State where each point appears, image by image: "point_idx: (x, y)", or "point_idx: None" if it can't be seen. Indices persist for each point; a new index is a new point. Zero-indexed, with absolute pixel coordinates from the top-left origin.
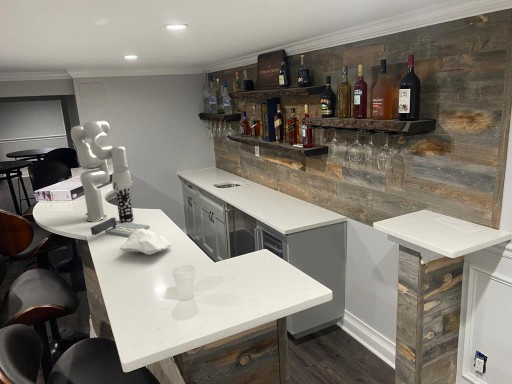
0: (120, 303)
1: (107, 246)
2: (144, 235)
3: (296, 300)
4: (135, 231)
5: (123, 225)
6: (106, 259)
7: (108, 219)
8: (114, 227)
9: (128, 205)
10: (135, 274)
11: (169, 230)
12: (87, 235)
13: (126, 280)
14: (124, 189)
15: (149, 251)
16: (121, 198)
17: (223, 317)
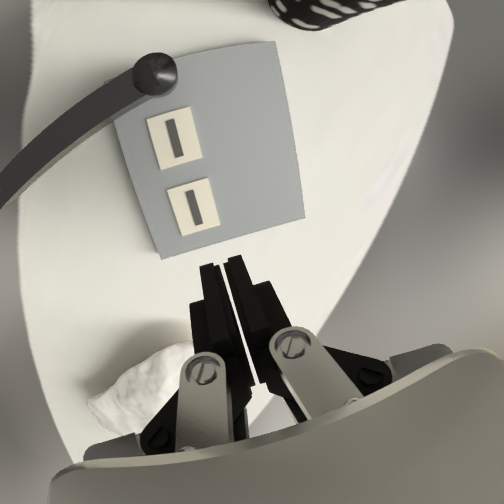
0: (79, 455)
1: (60, 286)
2: None
3: None
4: (150, 396)
5: (225, 80)
6: (54, 368)
7: (116, 78)
8: None
9: (367, 3)
10: (105, 436)
11: (316, 301)
12: (39, 59)
13: (89, 438)
14: (330, 400)
15: None
16: (191, 319)
17: None
